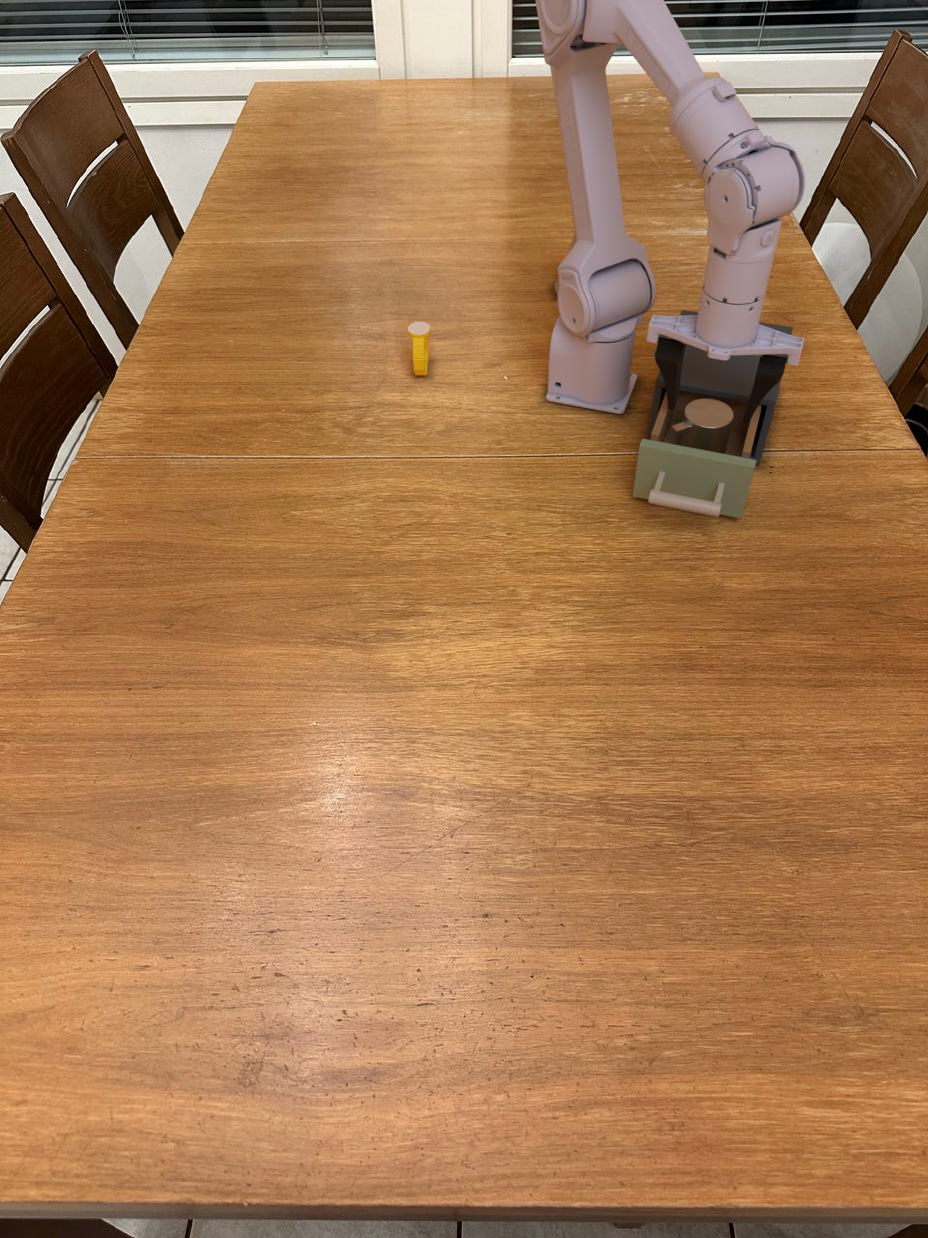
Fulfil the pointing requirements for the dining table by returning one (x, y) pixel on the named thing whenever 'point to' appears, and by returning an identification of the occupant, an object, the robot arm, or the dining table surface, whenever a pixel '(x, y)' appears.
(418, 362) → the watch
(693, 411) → the measuring cup
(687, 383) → the cabinet
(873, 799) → the dining table surface
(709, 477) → the drawer
